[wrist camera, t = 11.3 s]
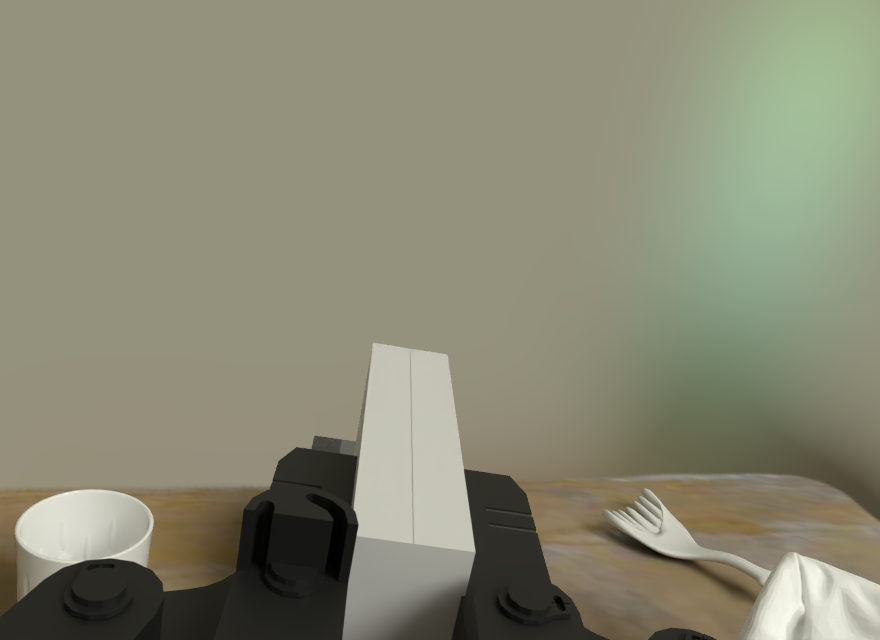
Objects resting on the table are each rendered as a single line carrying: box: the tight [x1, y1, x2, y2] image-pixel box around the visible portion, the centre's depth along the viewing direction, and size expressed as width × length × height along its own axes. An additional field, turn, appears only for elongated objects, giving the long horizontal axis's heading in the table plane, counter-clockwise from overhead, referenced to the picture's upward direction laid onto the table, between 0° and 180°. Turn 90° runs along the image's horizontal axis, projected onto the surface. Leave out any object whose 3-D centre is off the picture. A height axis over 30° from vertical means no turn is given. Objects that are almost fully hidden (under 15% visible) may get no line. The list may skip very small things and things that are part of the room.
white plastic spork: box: [603, 488, 772, 587], centre depth 70 cm, size 9×32×3 cm, turn 47°
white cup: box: [15, 489, 154, 602], centre depth 50 cm, size 8×8×10 cm
